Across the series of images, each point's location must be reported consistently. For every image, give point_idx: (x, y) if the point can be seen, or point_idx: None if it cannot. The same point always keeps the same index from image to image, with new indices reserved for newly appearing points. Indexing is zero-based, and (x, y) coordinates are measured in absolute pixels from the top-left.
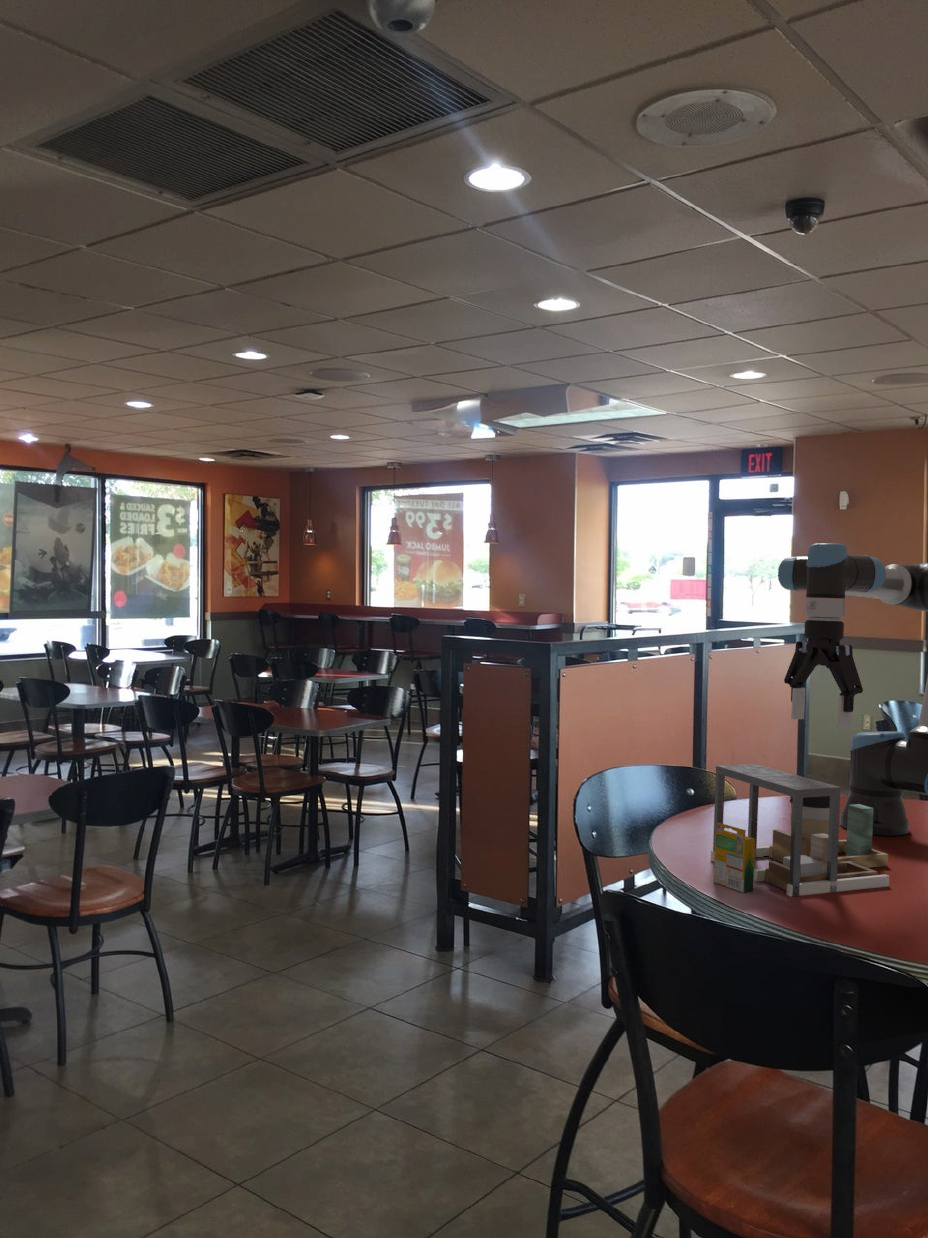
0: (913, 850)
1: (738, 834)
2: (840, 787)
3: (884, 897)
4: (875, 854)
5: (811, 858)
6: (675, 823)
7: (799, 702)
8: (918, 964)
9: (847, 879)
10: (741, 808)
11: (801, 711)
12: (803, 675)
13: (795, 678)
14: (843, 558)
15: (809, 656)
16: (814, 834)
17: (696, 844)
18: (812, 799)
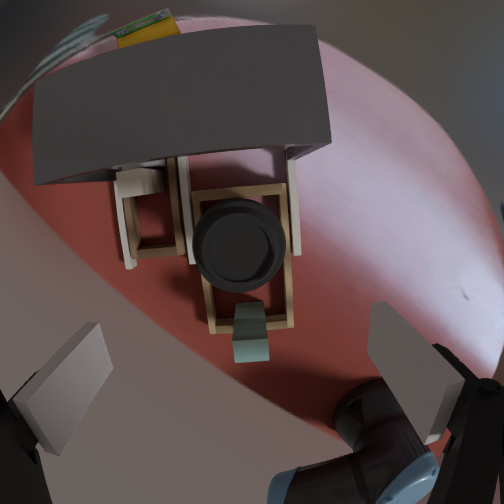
0: (274, 399)
1: (126, 30)
2: (34, 185)
3: (96, 229)
4: (211, 316)
5: (141, 164)
6: (464, 166)
7: (399, 368)
8: None
9: (117, 200)
10: (489, 303)
11: (380, 356)
12: (440, 493)
13: (484, 432)
14: None
15: None
16: (138, 173)
17: (369, 120)
18: (206, 225)
